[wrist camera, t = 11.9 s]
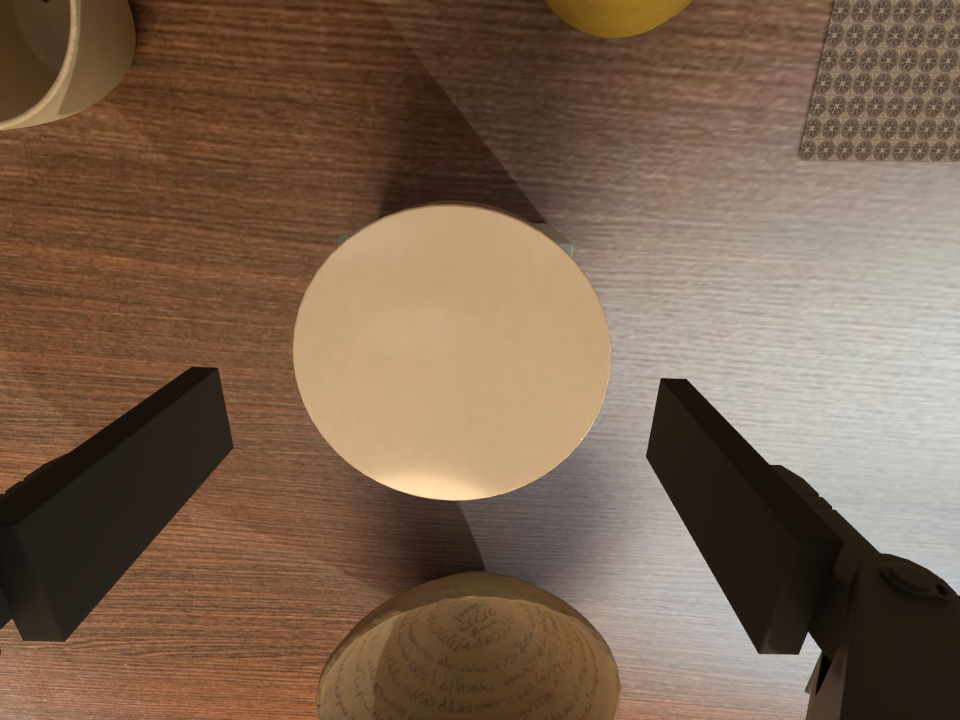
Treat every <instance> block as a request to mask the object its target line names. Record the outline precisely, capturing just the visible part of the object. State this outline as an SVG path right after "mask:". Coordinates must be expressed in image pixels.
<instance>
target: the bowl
mask: <svg viewBox="0 0 960 720" xmlns="http://www.w3.org/2000/svg"><path fill="white" fill-rule="evenodd" d="M620 691H621V685H620V678H619V672H618V668H617V665H616V662H615V659H614V657H613V655H612V652H611V650H610V648H609V646H608V645H607V643H606V641H605V640H604V639H603V637H602V636H601V634H600V633H599V632H598V631H597V630H596V629H595V627H594V626H593V625H592V624H591V623H590V622H589V621H588V620H587V619H586V618H585V617H584V616H582V615H581V614H580V613H579V612H578V611H577V610H576V609H574V608H573V607H572V606H570V605H569V604H568V603H566V602H565V601H564V600H562V599H560V598H559V597H557V596H555V595H553V594H552V593H550V592H548V591H546V590H543V589H541V588H539V587H537V586H534V585H531V584H528V583H526V582H523V581H521V580H517V579H513V578H509V577H506V576H503V575H499V574H494V573H488V572H480V571H472V572H463V573H457V574H453V575H449V576H446V577H443V578H439V579H435V580H432V581H429V582H426V583H423V584H421V585H418V586H416V587H414V588H411V589H409V590H407V591H405V592H403V593H401V594H399V595H397V596H395V597H393V598H392V599H390V600H388V601H386V602H385V603H383V604H382V605H380V606H379V607H377V608H376V609H374V610H373V611H372V612H370V613H369V614H368V615H367V616H365V617H364V618H363V619H362V620H361V621H360V622H359V623H358V624H357V625H356V626H355V627H354V628H353V629H352V630H351V631H350V632H349V634H348V635H347V636H346V637H345V638H344V639H343V641H342V642H341V643H340V644H339V645H338V647H337V648H336V649H335V650H334V651H333V653H332V654H331V656H330V657H329V659H328V661H327V663H326V665H325V667H324V669H323V671H322V674H321V676H320V680H319V685H318V689H317V695H316V703H317V713H318V718H319V720H615V719H616V715H617V711H618V706H619V702H620Z"/></svg>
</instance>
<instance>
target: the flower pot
mask: <svg viewBox="0 0 960 720" xmlns="http://www.w3.org/2000/svg"><path fill="white" fill-rule="evenodd" d="M135 47H136V32H135V25H134V20H133V16H132V12H131V9H130V6H129V3H128V1H127V0H47V3H45V2H44V1H43V0H0V130H7V129H15V128H22V127H28V126H34V125H39V124H43V123H47V122H51V121H55V120H58V119H62V118H65V117H68V116H70V115H73V114H76V113H78V112H80V111H82V110H84V109H86V108H88V107H90V106H92V105H93V104H95V103H97V102H98V101H100V100H101V99H102V98H104V97H105V96H106V95H108V94H109V93H110V92H111V91H112V90H113V89H114V88H115V87H117V85H118V84H119V83H120V82H121V81H122V79H123V78H124V77H125V75H126V73H127V72H128V70H129V68H130V66H131V64H132V61H133V57H134V53H135Z"/></svg>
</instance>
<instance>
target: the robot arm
mask: <svg viewBox="0 0 960 720" xmlns="http://www.w3.org/2000/svg"><path fill="white" fill-rule="evenodd" d="M233 448H234V447H233V442H232V437H231V432H230V427H229V422H228V417H227V411H226V406H225V401H224V396H223V391H222V386H221V381H220V376H219V371H218V368H212V367H191V368H190V369H188V370H187V371H185V372H184V373H182V374H181V375H180V376H178V377H177V378H175V379H174V380H172V381H171V382H170V383H168V384H167V385H165V386H164V387H162V388H161V389H160V390H158V391H157V392H155V393H154V394H153V395H151V396H150V397H148V398H147V399H145V400H144V401H143V402H141V403H140V404H138V405H137V406H135V407H134V408H133V409H131V410H130V411H128V412H127V413H125V414H124V415H123V416H121V417H120V418H118V419H117V420H115V421H114V422H113V423H111V424H110V425H108V426H107V427H105V428H104V429H103V430H101V431H100V432H98V433H97V434H95V435H94V436H93V437H91V438H90V439H88V440H87V441H85V442H84V443H83V444H81V445H80V446H78V447H77V448H75V449H74V450H73V451H71V452H69V453H67V454H65V455H63V456H61V457H59V458H56V459H54V460H52V461H50V462H48V463H45V464H44V465H42V466H41V467H40V468H38V469H37V470H35V471H34V472H32V473H31V474H29V475H28V476H26V477H25V478H24V480H23V481H19V482H18V483H16V484H15V485H13V486H12V487H10V488H9V489H8V490H6V493H5V494H0V629H1V628H3V627H4V626H5V625H6V624H7V623H8V622H9V621H10V620H11V619H12V618H13V620H14V622H15V624H16V626H17V628H18V631H19V633H20V635H21V637H22V639H23V641H53V642H65V641H66V640H67V639H68V637H69V636H70V635H71V634H72V633H73V632H74V630H75V629H76V628H77V627H78V626H79V625H80V624H81V622H82V621H83V620H84V619H85V618H86V617H87V616H88V614H89V613H90V612H91V611H92V610H93V609H94V607H95V606H96V605H97V604H98V603H99V602H100V601H101V599H102V598H103V597H104V596H105V595H106V594H107V593H108V591H109V590H110V589H111V588H112V587H113V586H114V585H115V583H116V582H117V581H118V580H119V579H120V578H121V576H122V575H123V574H124V573H125V572H126V571H127V570H128V568H129V567H130V566H131V565H132V564H133V563H134V562H135V560H136V559H137V558H138V557H139V556H140V555H141V553H142V552H143V551H144V550H145V549H146V548H147V547H148V545H149V544H150V543H151V542H152V541H153V540H154V539H155V537H156V536H157V535H158V534H159V533H160V532H161V531H162V529H163V528H164V527H165V526H166V525H167V524H168V522H169V521H170V520H171V519H172V518H173V517H174V516H175V514H176V513H177V512H178V511H179V510H180V509H181V508H182V506H183V505H184V504H185V503H186V502H187V501H188V499H189V498H190V497H191V496H192V495H193V494H194V493H195V491H196V490H197V489H198V488H199V487H200V486H201V485H202V483H203V482H204V481H205V480H206V479H207V478H208V477H209V475H210V474H211V473H212V472H213V471H214V470H215V468H216V467H217V466H218V465H219V464H220V463H221V462H222V460H223V459H224V458H225V457H226V456H227V455H228V454H229V452H230V451H231V450H232V449H233ZM646 458H647V459H648V461H649V463H650V465H651V466H652V468H653V470H654V472H655V473H656V475H657V477H658V479H659V480H660V482H661V484H662V486H663V487H664V489H665V491H666V493H667V494H668V496H669V498H670V500H671V501H672V503H673V505H674V507H675V508H676V510H677V512H678V514H679V515H680V517H681V519H682V520H683V522H684V524H685V526H686V527H687V529H688V531H689V533H690V534H691V536H692V538H693V540H694V541H695V543H696V545H697V547H698V548H699V550H700V552H701V554H702V555H703V557H704V559H705V561H706V562H707V564H708V566H709V568H710V569H711V571H712V573H713V575H714V576H715V578H716V580H717V582H718V583H719V585H720V587H721V589H722V590H723V592H724V594H725V596H726V597H727V599H728V601H729V603H730V604H731V606H732V608H733V610H734V611H735V613H736V615H737V617H738V618H739V620H740V622H741V624H742V625H743V627H744V629H745V631H746V632H747V634H748V636H749V638H750V639H751V641H752V643H753V645H754V646H755V648H756V650H757V652H758V653H759V654H794V655H799V652H800V650H801V647H802V645H803V643H804V640H805V638H806V635H807V633H808V632H809V633H810V635H811V636H812V637H813V639H814V640H815V642H816V643H817V645H818V646H819V647H820V649H821V650H822V652H821V654H820V656H819V659H818V661H817V663H816V666H815V668H814V670H813V673H812V675H811V677H810V680H809V682H808V684H807V687H806V689H805V692H806V693H808V694H810V699H809V704H808V710H807V715H806V720H960V596H959V595H957V594H956V592H955V591H954V590H953V589H952V588H951V587H950V586H949V585H948V584H947V583H946V582H945V581H944V580H943V579H941V578H940V577H938V576H937V575H935V574H934V573H932V572H931V571H929V570H928V569H926V568H924V567H922V566H920V565H918V564H916V563H914V562H912V561H910V560H907V559H904V558H901V557H898V556H894V555H891V554H882V553H879V552H878V551H877V550H876V549H875V548H874V547H873V546H872V545H871V544H870V543H869V542H868V541H867V540H866V539H865V538H864V537H863V536H862V535H861V534H860V533H859V532H858V531H857V530H856V529H855V528H854V527H853V526H852V525H850V524H849V523H848V522H847V521H846V520H845V519H844V518H843V517H842V516H841V515H840V514H839V513H838V512H837V511H836V510H832V506H831V505H830V504H829V503H828V502H827V501H826V500H825V499H824V498H823V497H819V494H818V493H817V492H816V491H815V490H814V489H813V488H812V487H811V486H810V485H809V484H808V483H807V482H806V481H805V480H804V479H803V478H801V477H800V476H798V475H796V474H795V473H793V472H791V471H790V470H788V469H786V468H785V467H783V466H781V465H769V464H768V463H767V462H766V461H765V460H764V459H763V458H762V457H761V456H760V454H759V453H758V452H757V451H756V450H755V449H754V448H753V447H752V446H751V445H750V444H749V443H748V442H747V441H746V440H745V439H744V438H743V437H742V436H741V435H740V434H739V433H738V432H737V431H736V430H735V429H734V428H733V427H732V426H731V425H730V424H729V422H728V421H727V420H726V419H725V418H724V417H723V416H722V415H721V414H720V413H719V412H718V411H717V410H716V409H715V408H714V407H713V406H712V405H711V404H710V403H709V402H708V401H707V400H706V399H705V398H704V397H703V396H702V395H701V394H700V393H699V392H698V390H697V389H696V388H695V387H694V386H693V385H692V384H691V383H690V382H689V381H688V380H687V379H668V378H661V380H660V385H659V390H658V396H657V401H656V406H655V412H654V417H653V422H652V428H651V433H650V438H649V444H648V449H647V454H646ZM0 653H1V649H0Z"/></svg>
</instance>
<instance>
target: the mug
mask: <svg viewBox="0 0 960 720" xmlns="http://www.w3.org/2000/svg"><path fill="white" fill-rule="evenodd" d="M692 1H693V0H544V2H545V3H546V4H547V5H548V7H549V8H550V9H551V10H552V11H553V12H554V13H555V14H556V15H557V16H558V17H559V18H560V19H561V20H563V21H564V22H566V23H567V24H569V25H570V26H572V27H574V28H576V29H577V30H579V31H581V32H584V33H587V34H590V35H592V36H597V37H602V38H607V39H608V38H623V37H629V36H634V35H638V34H641V33H643V32H646V31H649V30H651V29H653V28H655V27H657V26H659V25H661V24H662V23H664V22H665V21H667V20H669V19H670V18H672V17H673V16H675V15H677V14H678V13H679V12H681V11H682V10H683V9H684V8H685V7H686V6H688V5H689V4H690V3H691V2H692Z"/></svg>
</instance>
